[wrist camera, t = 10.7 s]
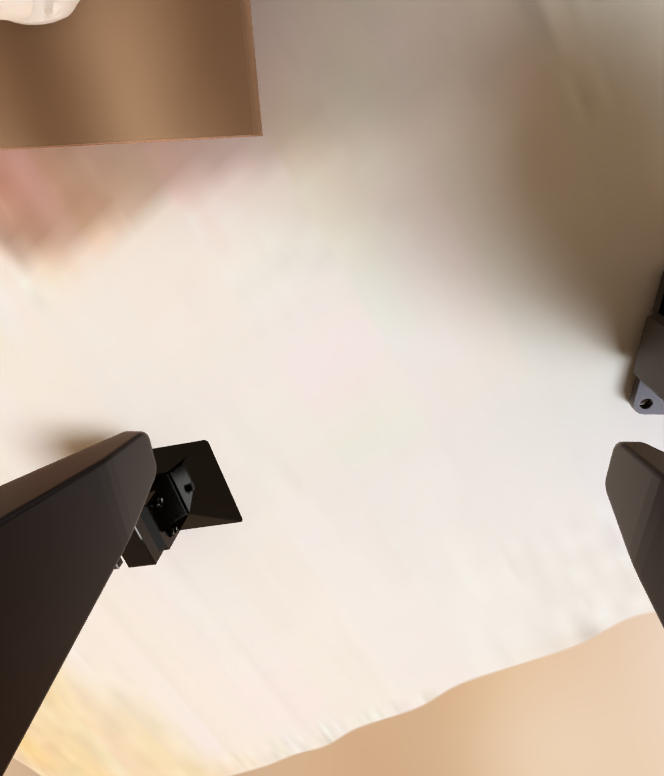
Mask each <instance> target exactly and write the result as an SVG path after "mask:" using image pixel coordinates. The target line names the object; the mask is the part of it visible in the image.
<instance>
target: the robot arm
mask: <svg viewBox="0 0 664 776" xmlns="http://www.w3.org/2000/svg"><path fill="white" fill-rule="evenodd" d="M633 373H634V374H635V375H636V377H635V381H634V385H633V389H632V392H631V396H630V405H631V407H632V408H633V409H634V410H635V411H636V412H638V413H640V414H664V271H663V275H662V278H661V282H660V286H659V290H658V294H657V297H656V301H655V305H654V309H653V312H652V313H651V314H650V315H649V316H648V317H647V320H646V323H645V327H644V331H643V335H642V339H641V343H640V347H639V350H638V354H637V358H636V362H635V366H634V370H633ZM644 399H648V401H647V402H646V403H645V404H642V405H640V403H641V401H642V400H644ZM155 475H156V463H155V459H154V455H153V451H152V447H151V443H150V439H149V436H148V435H147V434H146V433H145V432H141V431H126V432H123V433H120V434H118V435H116V436H113V437H111V438H109V439H107V440H104V441H102V442H100V443H97V444H95V445H93V446H91V447H88V448H86V449H84V450H81V451H79V452H77V453H75V454H72V455H70V456H68V457H65V458H63V459H61V460H58V461H56V462H54V463H52V464H49V465H47V466H45V467H42V468H40V469H38V470H36V471H33V472H31V473H29V474H26V475H24V476H22V477H20V478H17V479H15V480H13V481H10V482H8V483H6V484H4V485H1V486H0V776H3V774H4V773H5V771H6V769H7V767H8V765H9V763H10V761H11V760H12V758H13V756H14V754H15V752H16V750H17V748H18V747H19V745H20V743H21V741H22V739H23V737H24V735H25V734H26V732H27V730H28V728H29V726H30V724H31V722H32V720H33V719H34V717H35V715H36V713H37V711H38V709H39V707H40V706H41V704H42V702H43V700H44V698H45V696H46V694H47V693H48V691H49V689H50V687H51V685H52V683H53V681H54V680H55V678H56V676H57V674H58V672H59V670H60V668H61V667H62V665H63V663H64V661H65V659H66V657H67V655H68V654H69V652H70V650H71V648H72V646H73V644H74V642H75V640H76V639H77V637H78V635H79V633H80V631H81V629H82V627H83V626H84V624H85V622H86V620H87V618H88V616H89V614H90V613H91V611H92V609H93V607H94V605H95V603H96V601H97V600H98V598H99V596H100V594H101V592H102V590H103V588H104V587H105V585H106V583H107V581H108V579H109V577H110V575H111V574H112V572H113V570H114V568H115V566H116V564H117V562H118V561H119V559H120V557H121V555H122V553H123V551H124V549H125V547H126V545H127V543H128V541H129V539H130V537H131V535H132V532H133V530H134V528H135V525H136V523H137V520H138V518H139V516H140V513H141V511H142V508H143V506H144V503H145V501H146V498H147V496H148V493H149V491H150V488H151V486H152V483H153V481H154V479H155ZM605 485H606V491H607V495H608V497H609V500H610V503H611V506H612V509H613V511H614V514H615V517H616V520H617V523H618V525H619V528H620V531H621V534H622V537H623V540H624V542H625V545H626V548H627V551H628V554H629V556H630V559H631V561H632V564H633V566H634V568H635V570H636V573H637V575H638V577H639V579H640V581H641V583H642V585H643V587H644V589H645V591H646V593H647V595H648V597H649V599H650V601H651V603H652V605H653V607H654V609H655V611H656V613H657V615H658V617H659V619H660V622H661V623H662V626H663V628H664V452H663V451H660V450H658V449H656V448H654V447H652V446H650V445H648V444H645V443H642V442H619V443H617V444H616V445H615V447H614V449H613V453H612V456H611V460H610V464H609V468H608V472H607V476H606V482H605Z"/></svg>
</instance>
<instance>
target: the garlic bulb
mask: <svg viewBox="0 0 664 776" xmlns="http://www.w3.org/2000/svg"><path fill="white" fill-rule="evenodd" d="M79 1H80V0H0V20H9V21H12V22H15V23H19V24H24V25H42V24H48V23H53V22H56V21H59V20H61V19H64V18H66V17H68V16H69V15H70V14H71V13H72V12H73V10H74V9H75V7H76V5H77V4H78V2H79Z"/></svg>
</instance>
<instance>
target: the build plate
mask: <svg viewBox="0 0 664 776" xmlns="http://www.w3.org/2000/svg"><path fill="white" fill-rule="evenodd" d="M152 451H153V455H154V459H155V463H156V475H155V479H154V481H153V483H152V486H151V488H150V491H149V493H148V496H147V498H146V501H145V503H144V506H143V508H142V511H141V513H140V516H139V518H138V520H137V523H136V525H135V528H134V530H133V532H132V535H131V537H130V539H129V541H128V543H127V545H126V547H125V549H124V551H123V553H122V556H123V558H124V560H125V562H126V563H127V565H128V567H129V568H130V567H139V566H147V565H156V563H157V561H158V559H159V558H160V556H161V554H162V553H163V551H164V550H169V549H170V547H171V546H172V544H173V542H174V540H175V538H176V537H177V535H178V533H179V531H180V530H184V529H192V528H199V527H207V526H214V525H222V524H229V523H236V522H241V521H242V517H241V515H240V512H239V510H238V508H237V506H236V503H235V501H234V499H233V497H232V494H231V492H230V490H229V488H228V485H227V483H226V481H225V479H224V476H223V474H222V472H221V470H220V467H219V465H218V463H217V461H216V458H215V456H214V454H213V452H212V449H211V447H210V445H209V443H208V441H206V440H202V441H196V442H190V443H184V444H178V445H172V446H166V447H160V448H155V449H152ZM122 563H123V561H122V559H121V558H120V559H119V561H118V562H117V564H116V566H115V568H114V569H119V567H120V566H121V564H122Z"/></svg>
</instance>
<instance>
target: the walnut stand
mask: <svg viewBox="0 0 664 776" xmlns="http://www.w3.org/2000/svg"><path fill="white" fill-rule="evenodd" d="M250 136H263V135H262V125H261V114H260V104H259V93H258V83H257V72H256V62H255V51H254V41H253V30H252V20H251V9H250V0H80V1H79V2H78V4H77V5H76V7H75V9H74V10H73V12H72V13H71V14H70V15H69V16H68V17H66V18H64V19H61V20H59V21H56V22H53V23H48V24H42V25H24V24H19V23H15V22H12V21H9V20H0V150H9V149H27V148H46V147H64V146H83V145H101V144H120V143H139V142H157V141H176V140H194V139H213V138H231V137H250Z"/></svg>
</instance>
